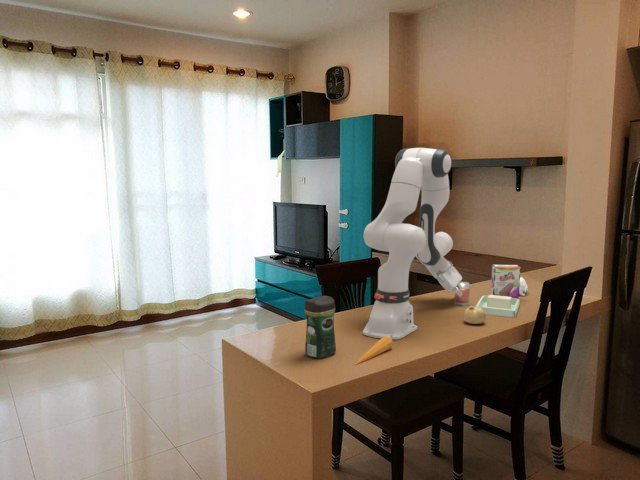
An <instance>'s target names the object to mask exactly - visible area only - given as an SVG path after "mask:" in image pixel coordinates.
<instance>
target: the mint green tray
mask: <svg viewBox="0 0 640 480" xmlns="http://www.w3.org/2000/svg"><path fill="white" fill-rule="evenodd" d="M488 296H489V295H482V296H481V297H480V299H479V300H478V302H477V303H476V305H474V306H475V307H479V308H481V309H482V310H483V311H484V312H485V314H486V315H489V316H497V317H506V318H514V319H515V318H516V316H517V313H518V310H519V308H520V298H519V299H515V298H511V308H510V309H505V308H495V307H487V297H488Z"/></svg>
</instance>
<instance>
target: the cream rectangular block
mask: <svg viewBox="0 0 640 480" xmlns="http://www.w3.org/2000/svg"><path fill="white" fill-rule="evenodd" d="M487 296H488V297H487V307H495V308H505V309H510V308H511V297H508V296H498V295H491V294H488V295H487Z"/></svg>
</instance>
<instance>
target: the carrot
mask: <svg viewBox="0 0 640 480" xmlns="http://www.w3.org/2000/svg"><path fill="white" fill-rule="evenodd" d="M393 345H394V341H393V339H391V338H390V337H387V336H385V337H383V338H379V340H378V341H377V342H375V344H374V345H373V346H371V348H369V349H368V350H367V351H366V352H365V353H364V354H363V355H362V356H361V357H360V358H359V359H358V361H356V363H354V366H355V365H359V364H360V363H364V362H366V361H368V360H370V359H372V358H374V357H376V356H379V355H380V354H382V353H384V352H386V351H388V350H390V349H392V347H393Z"/></svg>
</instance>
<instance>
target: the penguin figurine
mask: <svg viewBox="0 0 640 480" xmlns="http://www.w3.org/2000/svg"><path fill="white" fill-rule="evenodd" d="M528 287H529V286H528V284H527V282H526V280H525V279H524V278H523V277H522V276H520V286H519V296H522V297H525V296H526V293H527V292H528Z"/></svg>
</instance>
